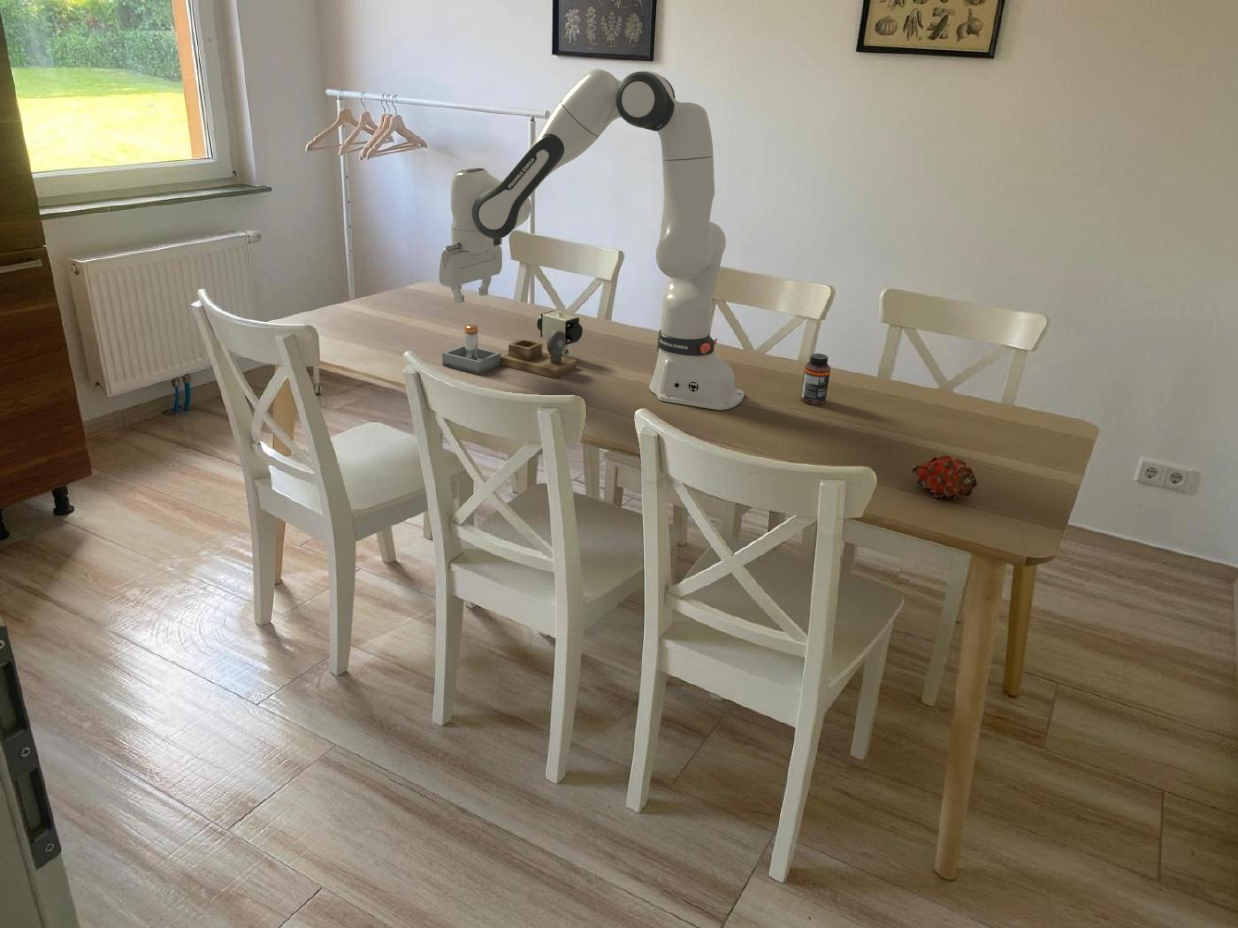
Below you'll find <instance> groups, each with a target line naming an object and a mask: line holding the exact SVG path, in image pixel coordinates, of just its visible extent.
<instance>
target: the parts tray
mask: <svg viewBox="0 0 1238 928" xmlns="http://www.w3.org/2000/svg"><path fill="white" fill-rule="evenodd" d="M441 354H442V355H441V356H442V359H441V361H442V362H441V363H442V365H443V366H446V367H449V368H454V369H457V370H461V371H466V372H468V373H469V372H470V373H474V374H477V375H480V374H483V373H484V372H487V371H490V370H492V369H494V368H497V367H498V366H502V365H501V357H502V355H501V354H502V353H501V352H497V351H492V350H489V349H484V348H481V347H478V361H477V360H473V359H469V358H465V344H463V345H460V346H458V347H456V348H452V349H451V350H447V351H445V352H442V353H441Z"/></svg>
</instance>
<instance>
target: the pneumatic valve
mask: <svg viewBox="0 0 1238 928" xmlns="http://www.w3.org/2000/svg"><path fill="white" fill-rule="evenodd" d="M538 317H539V318H538V320H537V321H536V327H537V329H538V331H539V334H540V336H539V337H540V338H542V339H544V340H545V339H546V340H548V338H549V336H550V334H551V332H553V331H554V330H557V331H561V332H563V333H564V334H565V337H566V343H565V347H564V350H563V352H562V357H566V358H569V355H570V349H569V345H570V344H571V345H572V344H575V343H578V342H579V340H580V339H581V338H582V336H583V326H582V325H581V324H580V323H581V322H580V318H579V316H578V317H577V316H573V315H572V314H567V313H563V311H560V310H558V311H554V310H551V311H545V312H543V313H542V312H541V313H540V315H539V316H538Z"/></svg>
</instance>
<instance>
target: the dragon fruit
mask: <svg viewBox="0 0 1238 928" xmlns="http://www.w3.org/2000/svg"><path fill="white" fill-rule="evenodd" d="M911 473H915V475H916V476H918V478H916V483H917V484H918V485H919V486H920V487H921V488H923V489H928V490H929V491H930V490H932V491H934V492H935V493H933V497H934V498H935V497H936V498H935V499H938V498H943V497H944V496H946V499H948V500H956V499H957V497H960V498H964V497H970V496H971V495H972V494H974V492H973V489H975V487H977V485H978V481H977V478H976V475H975V472H974V471H973V470H972V468H971V467H970V466H967V463H966V462H965V461H964V460H963V459H962V458H960V457H956V458H955V459H953V458H952V457H951V456H950V455H945V454H943V455H940V457H935V456H934V457H932V459H931V460H930V461H927V462H923V463H922V464H918V465H916V466H915V467H914V468H913V469H911Z"/></svg>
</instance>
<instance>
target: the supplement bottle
mask: <svg viewBox="0 0 1238 928" xmlns="http://www.w3.org/2000/svg"><path fill="white" fill-rule="evenodd" d="M828 359H829V356H828V355H826V354H823V353H812V354H811V355H810V358H809V362H806V364H805V366H804V372H803V378H802V384H801V392H800V400H801V401H802V402H803V403H804V404H808V405H812V406H813V405H814V406H820V405H823V404H825V403H826V400H827V397H828V396H827V395H828V387H829V382H830V375H831V367H830V365H829V364H828Z"/></svg>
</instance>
